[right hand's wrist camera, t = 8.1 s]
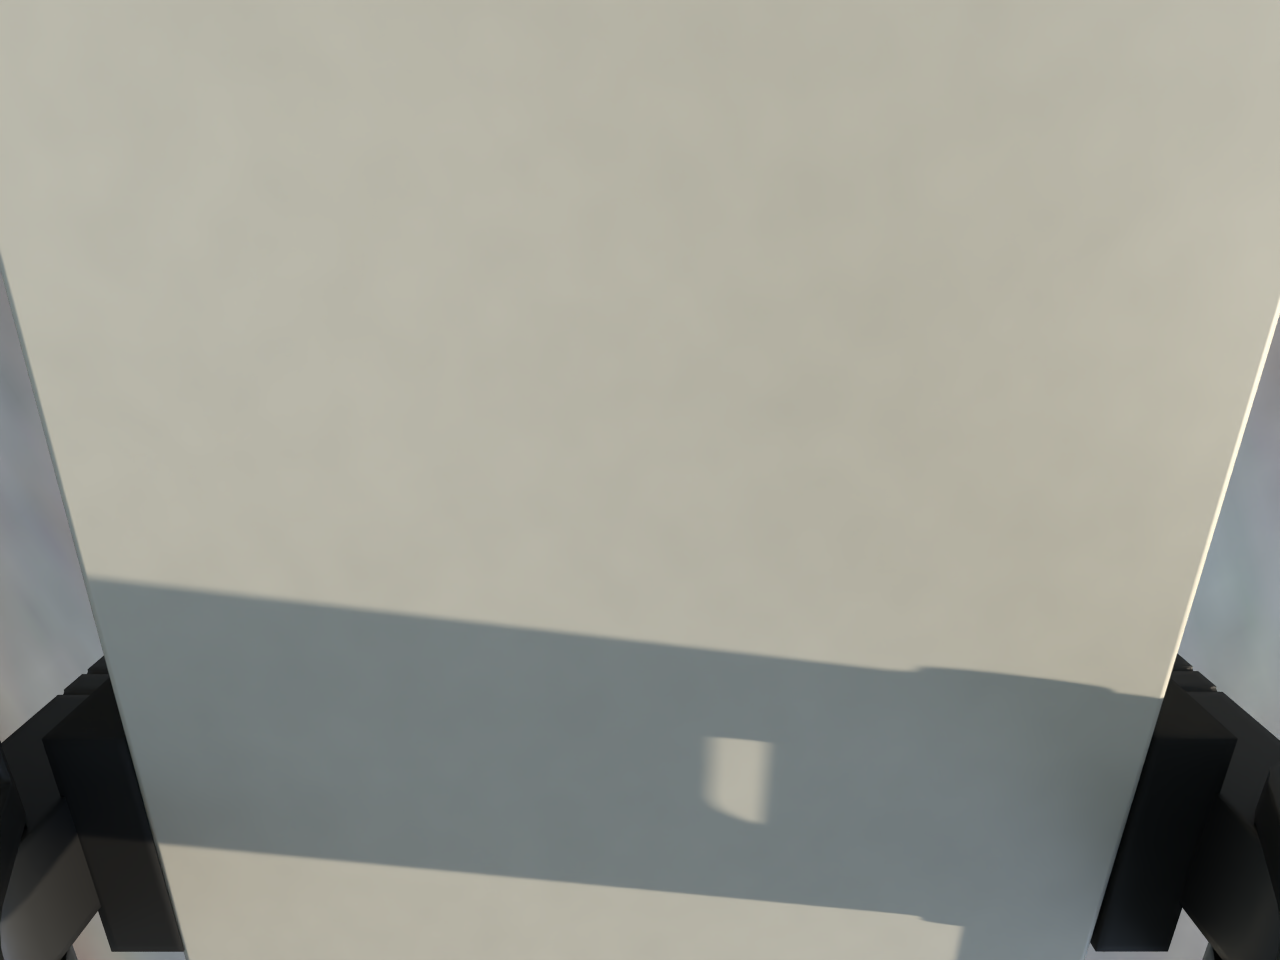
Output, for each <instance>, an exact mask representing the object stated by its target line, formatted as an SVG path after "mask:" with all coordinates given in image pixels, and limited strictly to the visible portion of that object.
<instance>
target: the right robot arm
mask: <svg viewBox="0 0 1280 960" xmlns="http://www.w3.org/2000/svg"><path fill="white" fill-rule="evenodd" d="M1182 908H1183V909H1184V910H1185V912H1186V913H1187V914H1188V915H1189V917H1190V918H1191V919H1192V921H1193V922H1194V923H1195V925H1196V926H1197V927H1198V929H1199V930H1200V931H1201V932H1202V934H1203V935H1204V936H1205V938H1206V939H1207V940H1208V942H1209V943H1208V945H1207V948H1206V951H1205V954H1204V957H1203V960H1280V740H1279V739H1277V738H1276V737H1275V736H1274V735H1273V734H1271V733H1270V732H1269V731H1268V730H1267V729H1266V728H1264V727H1263V726H1262V725H1261V724H1260V723H1259V722H1257V721H1256V720H1255V719H1254V718H1253V717H1251V716H1250V715H1249V714H1248V713H1247V712H1246V711H1244V710H1243V709H1242V708H1241V707H1240V706H1238V705H1237V704H1236V703H1235V702H1234V701H1233V700H1231V699H1230V698H1229V697H1228V696H1227V695H1226V694H1224V693H1223V692H1217V690H1216V686H1215V685H1214V684H1213V683H1211V682H1210V681H1209V680H1208V679H1207V678H1206V677H1204V676H1203V675H1202V674H1201V673H1200V672H1198V671H1193V669H1192V666H1191V665H1190V664H1189V663H1188V662H1187V661H1185V660H1184V659H1183V658H1182V657H1181V656H1180V655H1178V654H1177V655H1176V659H1175V662H1174V665H1173V669H1172V672H1171V675H1170V679H1169V682H1168V685H1167V689H1166V692H1165V695H1164V698H1163V702H1162V705H1161V708H1160V712H1159V715H1158V718H1157V722H1156V725H1155V728H1154V732H1153V735H1152V738H1151V742H1150V745H1149V748H1148V751H1147V755H1146V758H1145V761H1144V765H1143V768H1142V771H1141V775H1140V778H1139V781H1138V785H1137V788H1136V791H1135V795H1134V798H1133V801H1132V804H1131V808H1130V811H1129V814H1128V818H1127V821H1126V824H1125V828H1124V831H1123V834H1122V838H1121V841H1120V844H1119V847H1118V851H1117V854H1116V857H1115V861H1114V864H1113V867H1112V871H1111V874H1110V877H1109V881H1108V884H1107V887H1106V891H1105V894H1104V897H1103V900H1102V904H1101V907H1100V910H1099V914H1098V917H1097V920H1096V924H1095V927H1094V930H1093V934H1092V937H1091V940H1090V943H1091V944H1092V946H1093V948H1094V949H1095V951H1168V949H1169V946H1170V943H1171V940H1172V937H1173V934H1174V931H1175V928H1176V925H1177V922H1178V919H1179V916H1180V913H1181V910H1182ZM97 911H98V912H99V915H100V918H101V921H102V924H103V927H104V930H105V933H106V936H107V939H108V942H109V945H110V948H111V951H112V952H184V947H183V943H182V940H181V936H180V932H179V929H178V925H177V922H176V918H175V915H174V911H173V908H172V904H171V900H170V897H169V893H168V890H167V886H166V883H165V879H164V876H163V872H162V868H161V865H160V861H159V858H158V854H157V850H156V846H155V843H154V839H153V835H152V832H151V828H150V824H149V820H148V817H147V813H146V809H145V806H144V802H143V798H142V794H141V791H140V787H139V783H138V780H137V776H136V772H135V768H134V765H133V761H132V757H131V754H130V750H129V746H128V742H127V739H126V735H125V731H124V728H123V724H122V720H121V716H120V713H119V709H118V705H117V702H116V698H115V694H114V690H113V687H112V683H111V679H110V676H109V672H108V668H107V664H106V661H105V657H104V656H103V657H102V658H101V659H99V660H98V661H97V662H96V663H95V664H94V665H92V666H91V667H90V668H89V669H88V673H87V674H82V675H81V676H79V677H78V678H77V679H76V680H75V681H74V682H72V683H71V684H70V685H69V686H68V687H67V688H65V689H64V694H63V695H57V696H56V697H55V698H54V699H53V700H51V701H50V702H49V703H48V704H47V705H46V706H44V707H43V708H42V709H41V710H40V711H39V712H37V713H36V714H35V715H34V716H33V717H32V718H30V719H29V720H28V721H27V722H26V723H24V724H23V725H22V726H21V727H20V728H19V729H17V730H16V731H15V732H14V733H13V734H12V735H10V736H9V737H8V738H7V739H6V740H5V741H3V742H2V743H1V742H0V960H77V957H76V954H75V951H74V948H73V945H72V944H73V943H74V941H75V940H76V939H77V938H78V936H79V935H80V934H81V932H82V931H83V930H84V928H85V927H86V926H87V924H88V923H89V922H90V920H91V919H92V918H93V916H94V915H95V914H96V913H97Z"/></svg>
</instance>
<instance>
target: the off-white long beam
mask: <svg viewBox="0 0 1280 960" xmlns="http://www.w3.org/2000/svg"><path fill="white" fill-rule="evenodd" d="M0 271H1V274H2V278H3V282H4V286H5V289H6V293H7V297H8V300H9V304H10V308H11V312H12V315H13V319H14V323H15V326H16V330H17V334H18V338H19V341H20V345H21V349H22V352H23V356H24V360H25V364H26V367H27V371H28V375H29V378H30V382H31V386H32V390H33V393H34V397H35V401H36V404H37V408H38V412H39V416H40V419H41V423H42V427H43V430H44V434H45V438H46V442H47V445H48V449H49V453H50V456H51V460H52V464H53V468H54V471H55V475H56V479H57V482H58V486H59V490H60V494H61V497H62V501H63V505H64V508H65V512H66V516H67V520H68V523H69V527H70V531H71V534H72V538H73V542H74V546H75V549H76V553H77V557H78V560H79V564H80V568H81V572H82V575H83V579H84V583H85V586H86V590H87V594H88V598H89V601H90V605H91V609H92V612H93V616H94V620H95V624H96V627H97V631H98V635H99V638H100V642H101V646H102V650H103V653H104V657H105V661H106V664H107V668H108V672H109V676H110V679H111V683H112V687H113V690H114V694H115V698H116V702H117V705H118V709H119V713H120V716H121V720H122V724H123V728H124V731H125V735H126V739H127V742H128V746H129V750H130V754H131V757H132V761H133V765H134V768H135V772H136V776H137V780H138V783H139V787H140V791H141V794H142V798H143V802H144V806H145V809H146V813H147V817H148V820H149V824H150V828H151V832H152V835H153V839H154V843H155V846H156V850H157V854H158V858H159V861H160V865H161V868H162V872H163V876H164V879H165V883H166V886H167V890H168V893H169V897H170V900H171V904H172V908H173V911H174V915H175V918H176V922H177V925H178V929H179V932H180V936H181V940H182V943H183V947H184V954H185V958H186V960H1085V957H1086V953H1087V950H1088V947H1089V944H1090V940H1091V937H1092V934H1093V930H1094V927H1095V924H1096V920H1097V917H1098V914H1099V910H1100V907H1101V904H1102V900H1103V897H1104V894H1105V891H1106V887H1107V884H1108V881H1109V877H1110V874H1111V871H1112V867H1113V864H1114V861H1115V857H1116V854H1117V851H1118V847H1119V844H1120V841H1121V838H1122V834H1123V831H1124V828H1125V824H1126V821H1127V818H1128V814H1129V811H1130V808H1131V804H1132V801H1133V798H1134V795H1135V791H1136V788H1137V785H1138V781H1139V778H1140V775H1141V771H1142V768H1143V765H1144V761H1145V758H1146V755H1147V751H1148V748H1149V745H1150V742H1151V738H1152V735H1153V732H1154V728H1155V725H1156V722H1157V718H1158V715H1159V712H1160V708H1161V705H1162V702H1163V698H1164V695H1165V692H1166V689H1167V685H1168V682H1169V679H1170V675H1171V672H1172V669H1173V665H1174V662H1175V659H1176V655H1177V652H1178V649H1179V646H1180V642H1181V639H1182V636H1183V632H1184V629H1185V626H1186V622H1187V619H1188V616H1189V612H1190V609H1191V606H1192V602H1193V599H1194V596H1195V593H1196V589H1197V586H1198V583H1199V579H1200V576H1201V573H1202V569H1203V566H1204V563H1205V559H1206V556H1207V553H1208V549H1209V546H1210V543H1211V540H1212V536H1213V533H1214V530H1215V526H1216V523H1217V520H1218V516H1219V513H1220V510H1221V506H1222V503H1223V500H1224V497H1225V493H1226V490H1227V487H1228V483H1229V480H1230V477H1231V473H1232V470H1233V467H1234V463H1235V460H1236V457H1237V453H1238V450H1239V447H1240V444H1241V440H1242V437H1243V434H1244V430H1245V427H1246V424H1247V420H1248V417H1249V414H1250V410H1251V407H1252V404H1253V400H1254V397H1255V394H1256V391H1257V387H1258V384H1259V381H1260V377H1261V374H1262V371H1263V367H1264V364H1265V361H1266V357H1267V354H1268V351H1269V348H1270V344H1271V341H1272V338H1273V334H1274V331H1275V328H1276V324H1277V321H1278V318H1279V314H1280V0H0Z"/></svg>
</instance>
